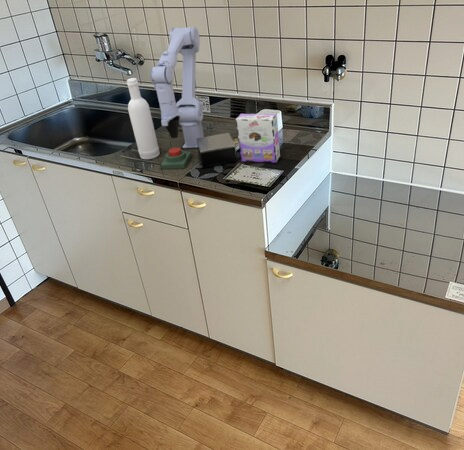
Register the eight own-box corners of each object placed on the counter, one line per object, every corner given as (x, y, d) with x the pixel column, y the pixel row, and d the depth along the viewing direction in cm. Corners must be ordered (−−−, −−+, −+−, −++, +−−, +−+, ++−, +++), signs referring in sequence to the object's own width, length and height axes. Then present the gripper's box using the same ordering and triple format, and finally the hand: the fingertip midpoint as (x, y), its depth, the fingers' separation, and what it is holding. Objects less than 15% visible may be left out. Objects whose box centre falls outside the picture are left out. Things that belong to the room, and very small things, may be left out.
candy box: (280, 156, 172) (277, 113, 163) (276, 163, 167) (272, 119, 158) (245, 154, 176) (240, 112, 167) (240, 161, 172) (234, 118, 163)
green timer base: (169, 156, 182) (167, 147, 180) (191, 155, 181) (190, 146, 179) (161, 169, 173) (159, 160, 171) (184, 168, 172) (183, 159, 170)
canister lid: (235, 147, 167) (235, 145, 167) (200, 153, 166) (200, 151, 165) (229, 134, 178) (228, 132, 178) (196, 140, 176) (196, 138, 176)
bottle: (141, 152, 188) (122, 77, 172) (160, 149, 188) (143, 74, 172) (139, 160, 181) (119, 83, 165) (159, 158, 182) (141, 80, 165)
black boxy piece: (237, 162, 171) (234, 146, 168) (203, 168, 170) (200, 152, 166) (231, 149, 181) (229, 134, 178) (199, 155, 180) (196, 140, 176)
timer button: (171, 152, 177) (170, 147, 176) (182, 151, 177) (181, 147, 176) (168, 157, 174) (167, 152, 173) (179, 156, 173) (178, 152, 172)
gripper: (172, 107, 158) (179, 145, 165) (183, 93, 169) (189, 128, 177) (152, 108, 159) (160, 145, 166) (164, 94, 171) (172, 129, 178)
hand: (174, 137), depth 172 cm, fingers closed
